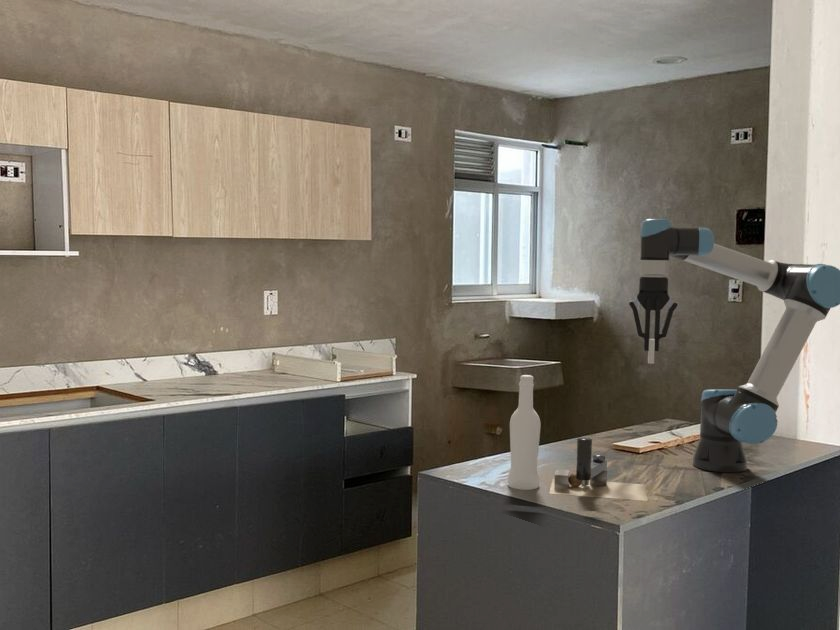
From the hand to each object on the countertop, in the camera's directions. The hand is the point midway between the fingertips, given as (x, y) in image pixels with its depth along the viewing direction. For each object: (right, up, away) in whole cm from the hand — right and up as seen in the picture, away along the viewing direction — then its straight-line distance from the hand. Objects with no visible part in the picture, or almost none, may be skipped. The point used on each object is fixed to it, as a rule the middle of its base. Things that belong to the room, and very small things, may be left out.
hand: (650, 362), depth 233 cm
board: (-17, -33, -13) cm, 39 cm away
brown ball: (-22, -31, -12) cm, 40 cm away
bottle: (-36, -33, -11) cm, 50 cm away
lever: (-19, -31, -13) cm, 39 cm away
